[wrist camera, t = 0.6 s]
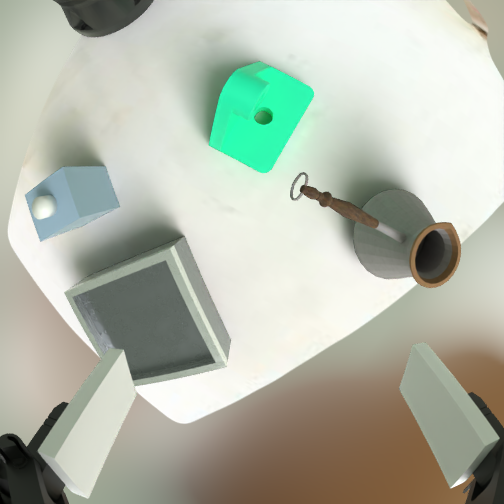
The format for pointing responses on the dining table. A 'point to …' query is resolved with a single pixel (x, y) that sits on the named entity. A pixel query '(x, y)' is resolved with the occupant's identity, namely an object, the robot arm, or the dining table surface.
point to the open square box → (153, 315)
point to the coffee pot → (397, 236)
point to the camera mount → (252, 102)
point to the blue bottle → (70, 199)
